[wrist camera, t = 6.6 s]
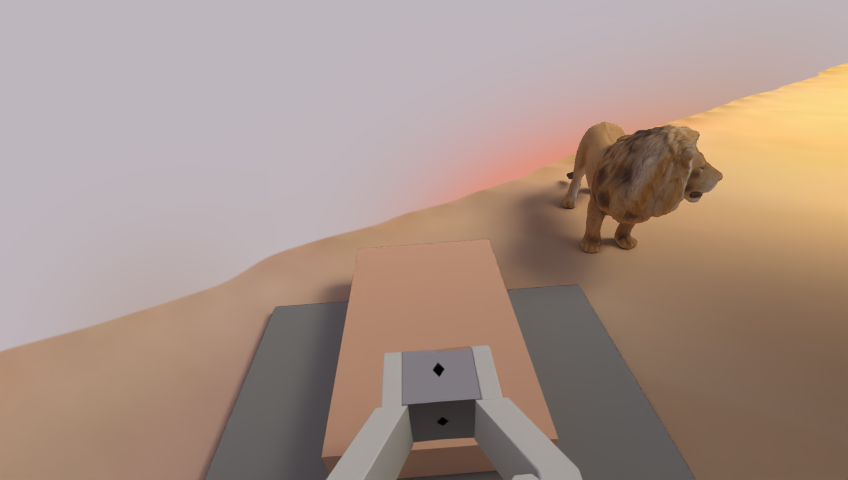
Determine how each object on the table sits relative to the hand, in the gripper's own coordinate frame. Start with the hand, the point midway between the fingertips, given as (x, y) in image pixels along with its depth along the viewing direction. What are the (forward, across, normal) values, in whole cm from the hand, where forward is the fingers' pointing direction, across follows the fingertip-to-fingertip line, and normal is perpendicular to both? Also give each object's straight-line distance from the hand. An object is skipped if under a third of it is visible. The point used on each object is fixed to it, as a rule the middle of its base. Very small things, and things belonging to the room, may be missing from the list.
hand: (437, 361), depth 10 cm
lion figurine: (+16, -14, +7) cm, 22 cm away
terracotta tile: (-1, 0, +5) cm, 5 cm away
